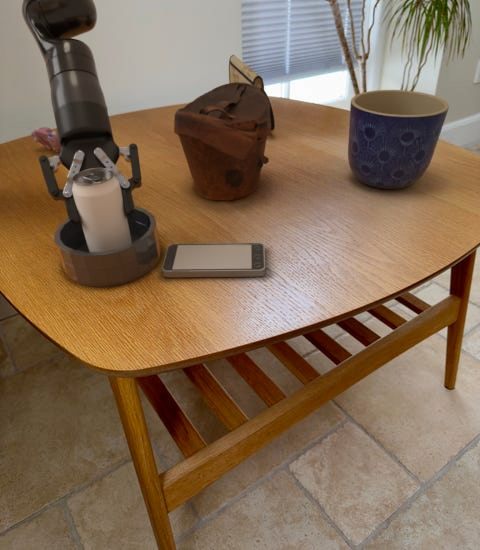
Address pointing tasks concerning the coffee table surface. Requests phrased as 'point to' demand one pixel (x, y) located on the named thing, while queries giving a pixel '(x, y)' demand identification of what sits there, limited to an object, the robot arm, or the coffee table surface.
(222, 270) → the smartphone
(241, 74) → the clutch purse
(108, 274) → the bowl
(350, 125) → the planter
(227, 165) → the case
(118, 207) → the can
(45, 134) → the raw meat chunk
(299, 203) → the coffee table surface
